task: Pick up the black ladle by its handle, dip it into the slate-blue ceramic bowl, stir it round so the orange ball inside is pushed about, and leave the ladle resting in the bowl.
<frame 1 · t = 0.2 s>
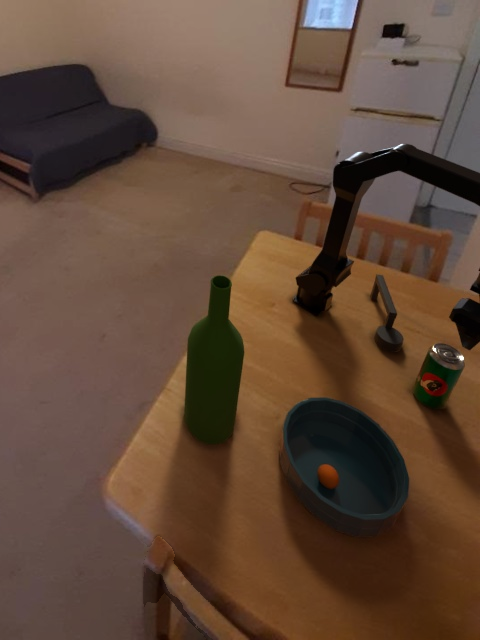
hand: (475, 334, 70), 14 cm above the table, tool pointing down, fingers open, 9 cm apart
orange ball: (328, 476, 62), point 2 cm above the table, touching bowl
soda can: (427, 398, 75), on the table
ladle: (387, 342, 86), on the table
wine bottle: (208, 419, 73), on the table
bowl: (335, 470, 65), on the table
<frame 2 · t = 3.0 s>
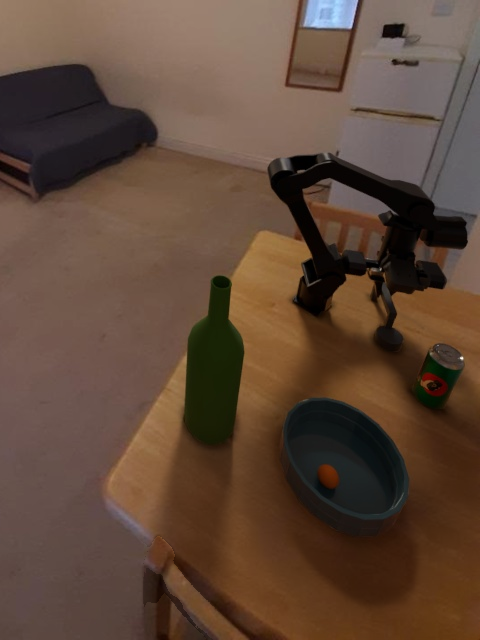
hand: (381, 297, 92), 4 cm above the table, tool pointing down, fingers closed on ladle
ladle: (387, 342, 86), on the table, touching gripper
everything else where it was.
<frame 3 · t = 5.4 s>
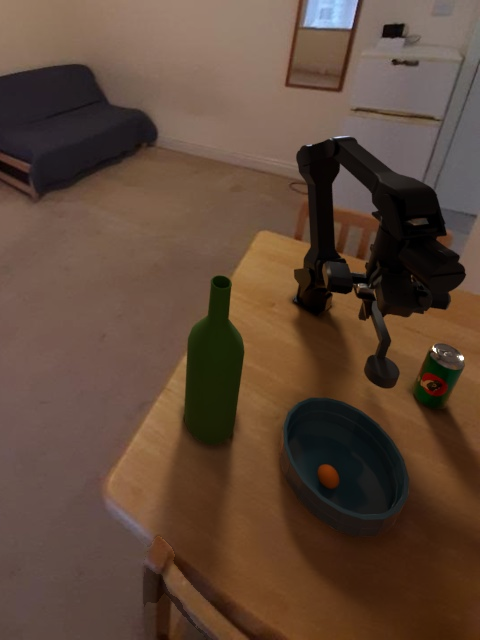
hand: (371, 318, 76), 13 cm above the table, tool pointing down, fingers closed on ladle
ladle: (379, 375, 70), point 9 cm above the table, touching gripper
everything else where it was.
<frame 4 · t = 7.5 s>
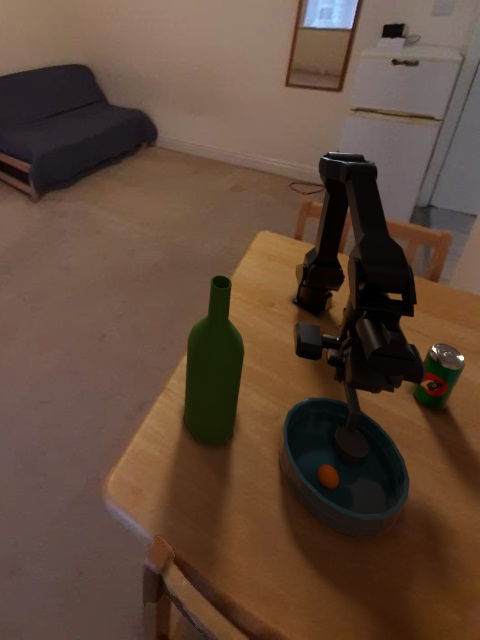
hand: (344, 382, 71), 6 cm above the table, tool pointing down, fingers closed on ladle
ladle: (349, 449, 66), point 2 cm above the table, touching gripper
everything else where it was.
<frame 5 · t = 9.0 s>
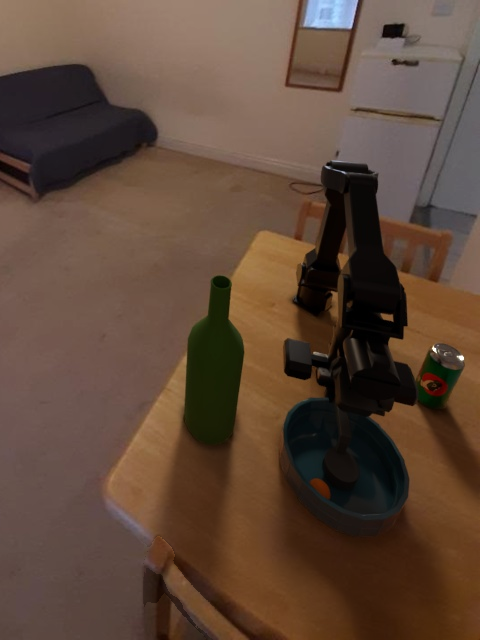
hand: (335, 401, 69), 6 cm above the table, tool pointing down, fingers closed on ladle
orange ball: (319, 491, 61), point 2 cm above the table, tilted 111°, touching bowl
ladle: (338, 472, 63), point 2 cm above the table, touching gripper
everything else where it was.
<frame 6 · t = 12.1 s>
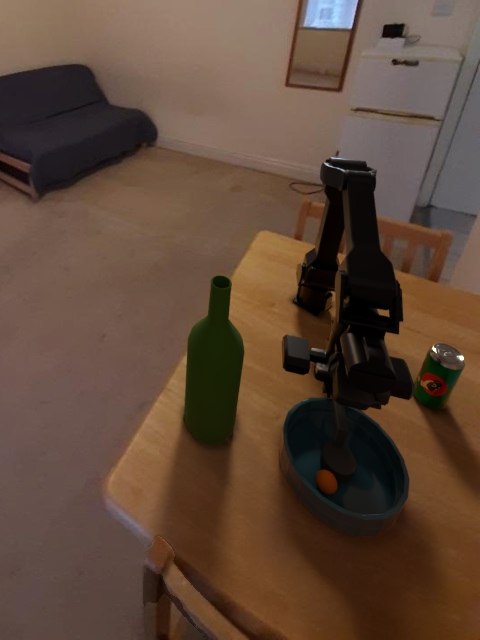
hand: (333, 396, 70), 5 cm above the table, tool pointing down, fingers closed, pressing on bowl, ladle
orange ball: (326, 481, 62), point 2 cm above the table, tilted 34°, touching bowl
ladle: (336, 465, 64), point 1 cm above the table, touching gripper
everything else where it was.
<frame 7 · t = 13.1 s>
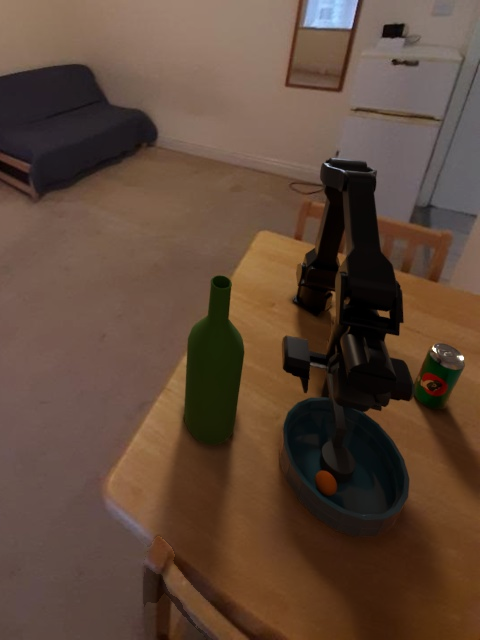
hand: (333, 397, 70), 5 cm above the table, tool pointing down, fingers open, 9 cm apart
orange ball: (325, 482, 62), point 2 cm above the table, tilted 42°, touching bowl
ladle: (335, 466, 65), point 1 cm above the table, touching bowl
everything else where it was.
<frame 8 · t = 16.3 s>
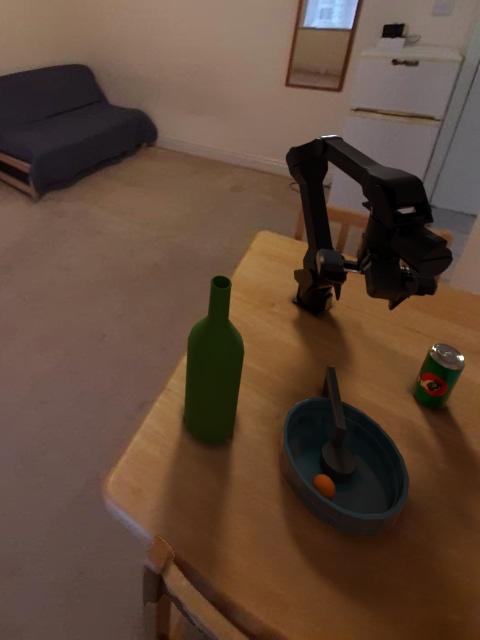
hand: (363, 303, 79), 13 cm above the table, tool pointing down, fingers open, 9 cm apart
orange ball: (324, 486, 61), point 2 cm above the table, tilted 68°, touching bowl
everything else where it was.
at the end: orange ball moved 1.8 cm from its start; orange ball inside the target area in the bowl (4.8 cm from its centre), point 2.1 cm above the bowl's base; ladle inside the target area in the bowl (0.2 cm from its centre), point 0.7 cm above the bowl's base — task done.
